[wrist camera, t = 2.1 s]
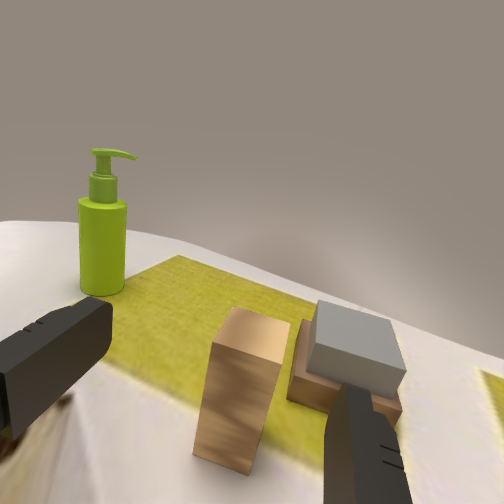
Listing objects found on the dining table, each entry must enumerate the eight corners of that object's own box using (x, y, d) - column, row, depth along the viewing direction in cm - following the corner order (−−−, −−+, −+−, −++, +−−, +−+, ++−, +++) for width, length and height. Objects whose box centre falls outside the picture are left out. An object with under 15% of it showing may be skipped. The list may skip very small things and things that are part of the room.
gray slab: (378, 345, 39) (390, 320, 37) (391, 400, 31) (406, 370, 29) (310, 324, 40) (318, 299, 39) (305, 371, 32) (315, 342, 31)
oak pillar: (261, 424, 29) (290, 323, 25) (248, 476, 25) (281, 364, 20) (213, 406, 30) (233, 306, 25) (192, 454, 25) (212, 341, 21)
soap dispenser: (135, 291, 46) (142, 156, 38) (84, 299, 41) (81, 150, 34) (124, 273, 50) (129, 148, 42) (77, 279, 46) (72, 142, 38)
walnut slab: (373, 366, 41) (383, 343, 40) (388, 438, 31) (402, 411, 30) (295, 341, 43) (302, 318, 41) (285, 402, 33) (294, 375, 31)
